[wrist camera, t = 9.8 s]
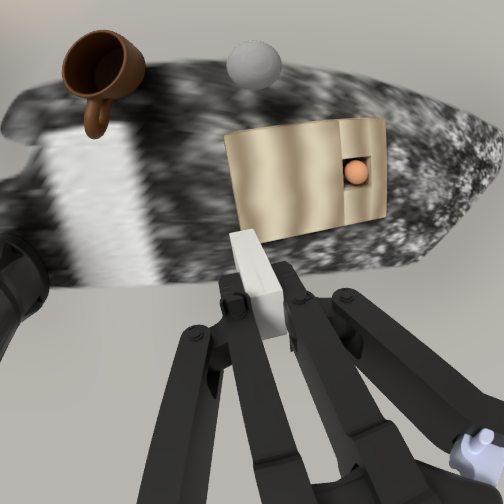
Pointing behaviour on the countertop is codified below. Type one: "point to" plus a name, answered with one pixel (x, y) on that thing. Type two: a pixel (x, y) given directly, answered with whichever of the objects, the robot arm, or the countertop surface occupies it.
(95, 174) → the countertop surface
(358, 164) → the ball
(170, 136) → the countertop surface
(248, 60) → the light bulb
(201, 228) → the countertop surface
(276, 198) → the wooden board with hole
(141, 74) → the mug
